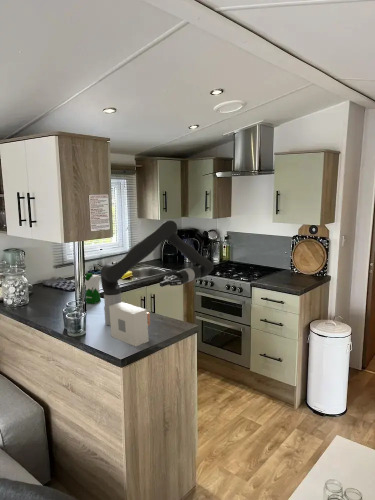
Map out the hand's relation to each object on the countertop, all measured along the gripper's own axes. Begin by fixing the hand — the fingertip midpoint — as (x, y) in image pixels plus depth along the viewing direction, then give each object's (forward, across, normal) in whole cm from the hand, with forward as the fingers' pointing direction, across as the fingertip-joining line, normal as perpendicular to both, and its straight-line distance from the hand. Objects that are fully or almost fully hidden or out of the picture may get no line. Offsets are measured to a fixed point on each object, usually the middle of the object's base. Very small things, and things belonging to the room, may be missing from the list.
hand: (160, 284), depth 201 cm
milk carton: (+4, -69, +28) cm, 75 cm away
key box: (+24, +3, +21) cm, 32 cm away
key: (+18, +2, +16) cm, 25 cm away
